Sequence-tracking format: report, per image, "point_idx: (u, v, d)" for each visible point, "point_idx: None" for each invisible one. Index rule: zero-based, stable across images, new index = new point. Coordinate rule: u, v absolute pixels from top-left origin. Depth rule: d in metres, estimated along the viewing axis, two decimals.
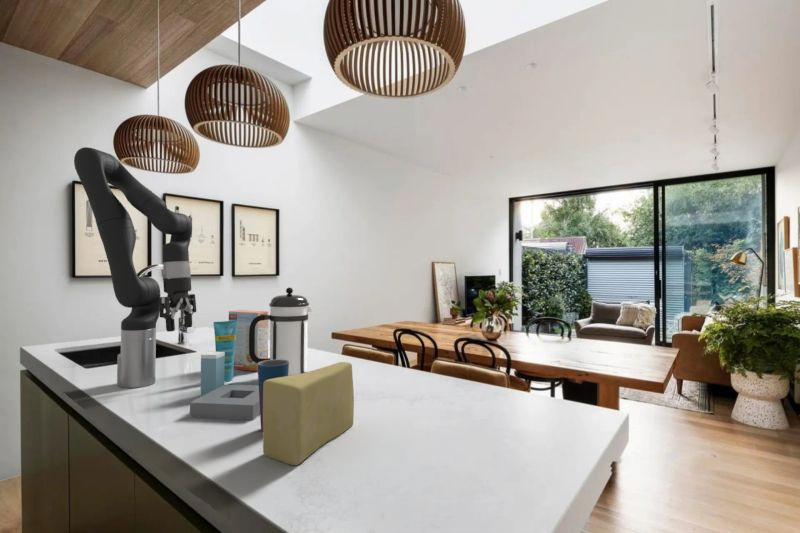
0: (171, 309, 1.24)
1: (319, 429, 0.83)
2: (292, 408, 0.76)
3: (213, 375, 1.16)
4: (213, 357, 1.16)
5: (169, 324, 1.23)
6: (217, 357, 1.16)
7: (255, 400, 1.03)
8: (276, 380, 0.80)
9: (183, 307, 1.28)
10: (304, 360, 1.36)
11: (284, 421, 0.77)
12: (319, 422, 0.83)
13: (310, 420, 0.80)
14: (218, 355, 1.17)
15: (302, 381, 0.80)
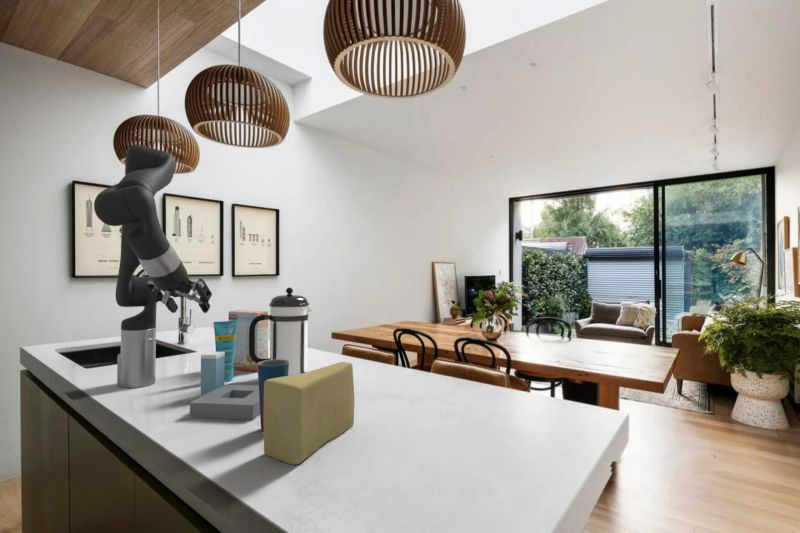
0: None
1: (320, 428, 0.83)
2: (293, 408, 0.76)
3: (213, 375, 1.16)
4: (213, 357, 1.16)
5: None
6: (217, 357, 1.16)
7: (255, 400, 1.03)
8: (277, 380, 0.80)
9: (181, 296, 1.02)
10: (304, 360, 1.36)
11: (285, 421, 0.77)
12: (320, 422, 0.83)
13: (311, 419, 0.80)
14: (218, 355, 1.17)
15: (303, 381, 0.80)
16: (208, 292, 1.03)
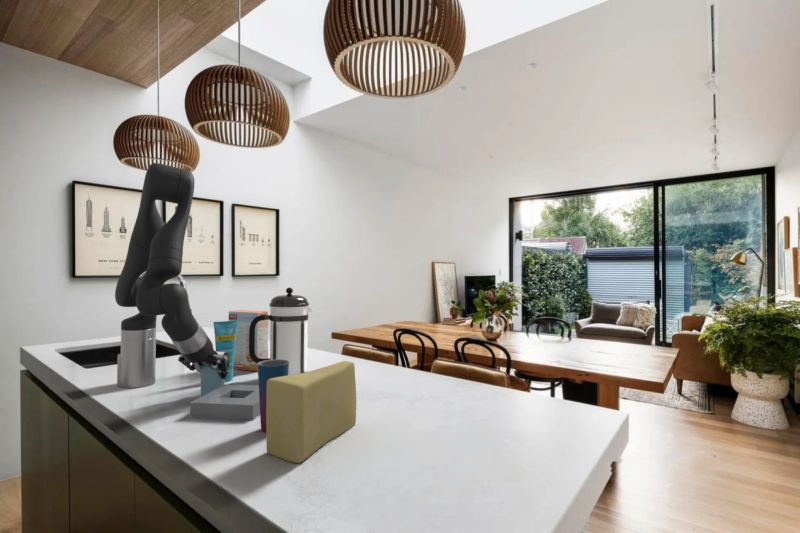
0: None
1: (322, 427, 0.83)
2: (295, 407, 0.77)
3: (213, 375, 1.16)
4: None
5: None
6: None
7: (255, 400, 1.03)
8: (279, 379, 0.81)
9: (204, 364, 1.14)
10: (304, 360, 1.36)
11: (287, 419, 0.78)
12: (322, 421, 0.83)
13: (313, 418, 0.80)
14: None
15: (305, 380, 0.80)
16: (227, 363, 1.16)
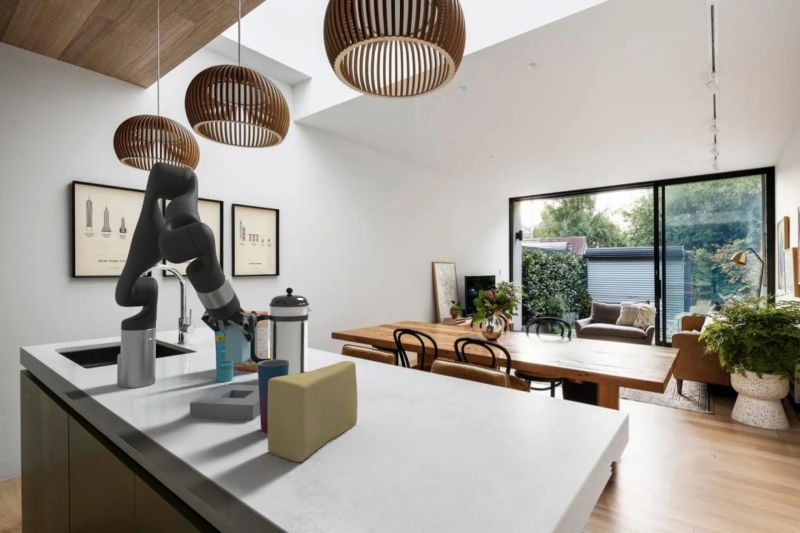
0: None
1: (323, 427, 0.84)
2: (296, 406, 0.77)
3: (239, 336, 1.06)
4: None
5: None
6: None
7: (255, 400, 1.03)
8: (280, 378, 0.81)
9: (229, 323, 1.04)
10: (304, 360, 1.36)
11: (288, 419, 0.78)
12: (323, 420, 0.84)
13: (314, 417, 0.81)
14: None
15: (306, 379, 0.81)
16: (254, 323, 1.06)
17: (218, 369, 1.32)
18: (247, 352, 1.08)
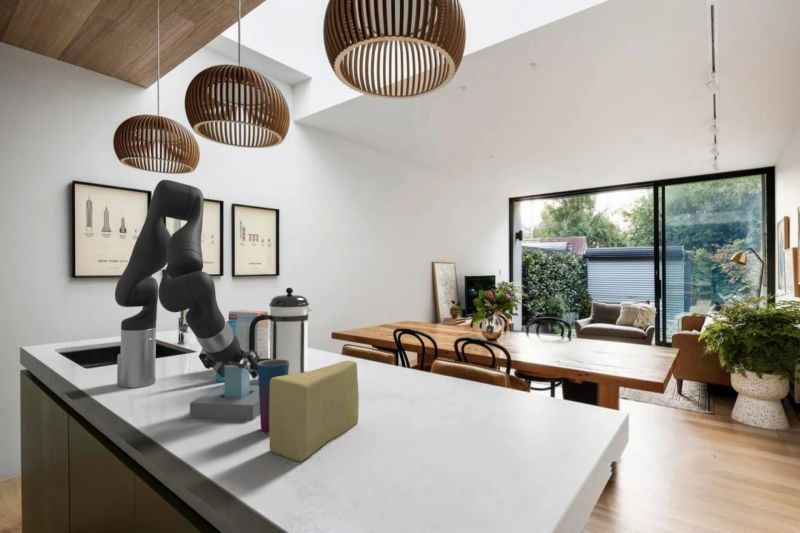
0: (216, 361, 1.05)
1: (324, 426, 0.84)
2: (298, 405, 0.78)
3: (238, 385, 1.05)
4: None
5: None
6: None
7: (255, 400, 1.03)
8: (282, 378, 0.82)
9: None
10: (304, 360, 1.36)
11: (290, 418, 0.79)
12: (324, 419, 0.84)
13: (316, 417, 0.81)
14: None
15: (308, 379, 0.81)
16: (258, 360, 1.05)
17: None
18: None
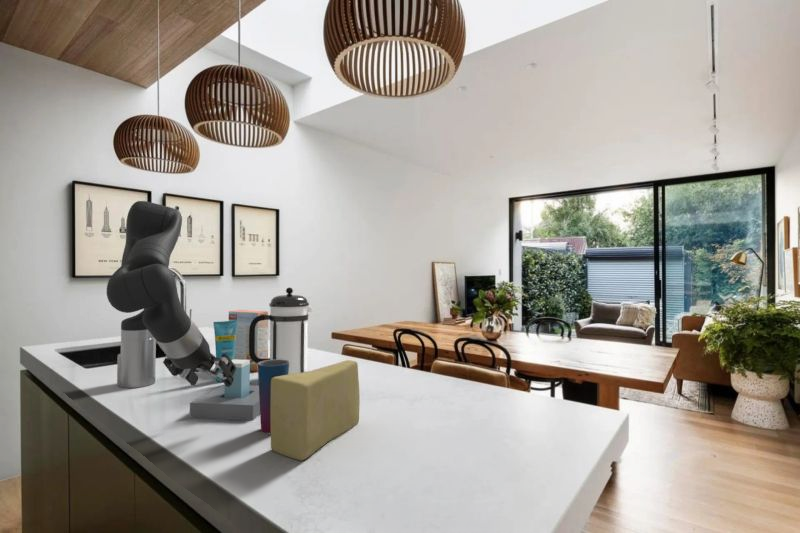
0: None
1: (325, 425, 0.85)
2: (299, 405, 0.78)
3: (238, 385, 1.05)
4: (238, 366, 1.05)
5: None
6: (242, 366, 1.06)
7: (255, 400, 1.03)
8: (283, 377, 0.82)
9: None
10: (304, 360, 1.36)
11: (291, 417, 0.79)
12: (325, 419, 0.84)
13: (317, 416, 0.82)
14: (243, 364, 1.06)
15: (309, 378, 0.81)
16: (232, 366, 0.92)
17: None
18: None
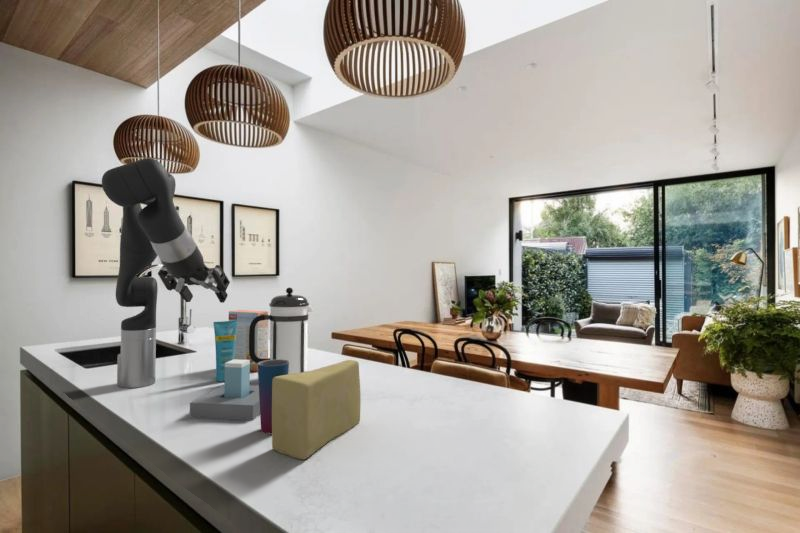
0: None
1: (326, 425, 0.85)
2: (300, 404, 0.78)
3: (238, 385, 1.05)
4: (238, 366, 1.05)
5: None
6: (242, 366, 1.06)
7: (255, 400, 1.03)
8: (285, 377, 0.82)
9: (196, 284, 0.93)
10: (304, 360, 1.36)
11: (292, 417, 0.79)
12: (327, 418, 0.85)
13: (318, 416, 0.82)
14: (243, 364, 1.06)
15: (310, 378, 0.82)
16: (225, 280, 0.94)
17: (218, 369, 1.32)
18: None
